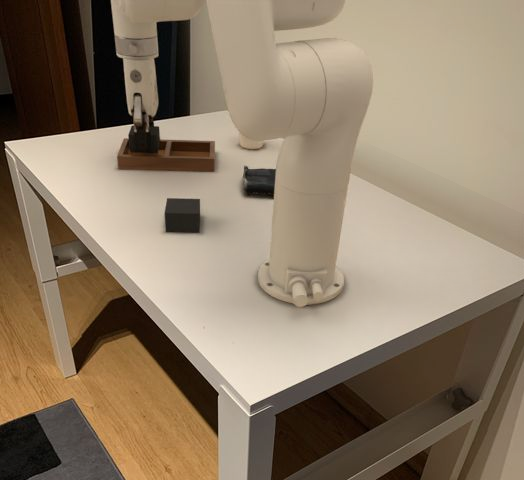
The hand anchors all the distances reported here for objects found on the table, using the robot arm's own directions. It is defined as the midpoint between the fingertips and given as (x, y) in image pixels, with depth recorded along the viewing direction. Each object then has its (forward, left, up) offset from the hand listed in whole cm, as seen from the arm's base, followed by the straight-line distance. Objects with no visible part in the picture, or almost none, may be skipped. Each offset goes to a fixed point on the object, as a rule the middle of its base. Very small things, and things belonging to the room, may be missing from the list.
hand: (145, 145), depth 112 cm
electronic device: (-13, -27, -3) cm, 30 cm away
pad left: (0, 0, 0) cm, 0 cm away
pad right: (-28, -9, -3) cm, 29 cm away
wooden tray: (0, -4, -3) cm, 5 cm away
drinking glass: (+10, -22, -3) cm, 24 cm away
